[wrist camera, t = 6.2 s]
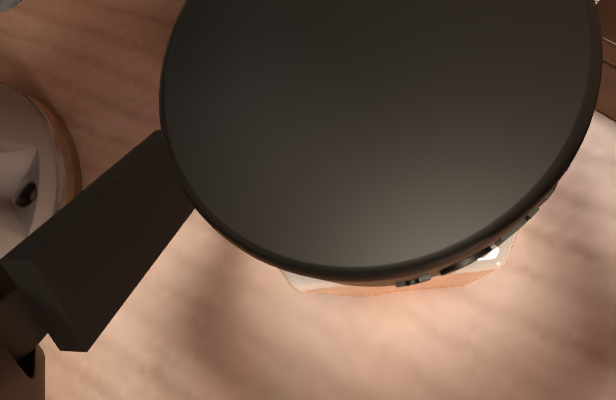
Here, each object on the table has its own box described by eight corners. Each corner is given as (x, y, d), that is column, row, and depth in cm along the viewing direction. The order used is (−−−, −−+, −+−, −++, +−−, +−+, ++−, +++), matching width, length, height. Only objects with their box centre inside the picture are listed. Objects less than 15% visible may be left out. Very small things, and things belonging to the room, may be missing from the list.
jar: (451, 339, 17) (494, 406, 6) (276, 258, 20) (79, 201, 9) (529, 137, 18) (693, -128, 7) (352, 86, 21) (263, -167, 10)
